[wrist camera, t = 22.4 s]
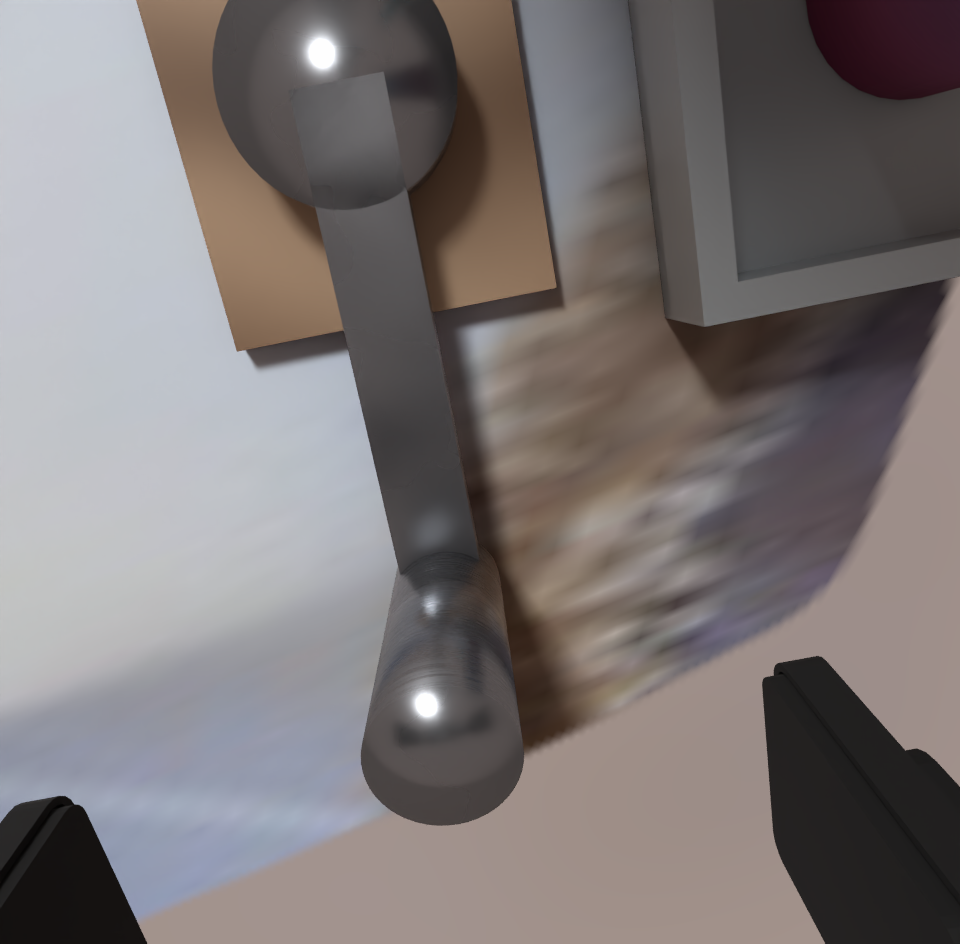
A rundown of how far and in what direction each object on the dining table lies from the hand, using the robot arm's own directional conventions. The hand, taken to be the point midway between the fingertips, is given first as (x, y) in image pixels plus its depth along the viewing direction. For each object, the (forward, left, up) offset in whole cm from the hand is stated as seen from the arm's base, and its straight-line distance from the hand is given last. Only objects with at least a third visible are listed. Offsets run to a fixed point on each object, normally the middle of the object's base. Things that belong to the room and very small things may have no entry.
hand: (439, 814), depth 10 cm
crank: (-6, 0, -9) cm, 11 cm away
